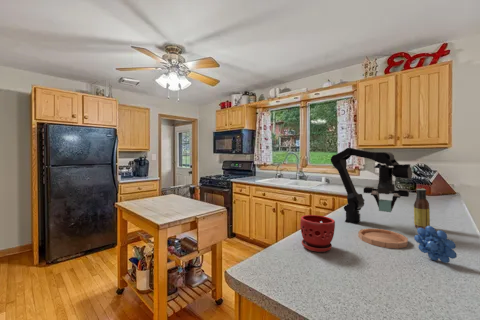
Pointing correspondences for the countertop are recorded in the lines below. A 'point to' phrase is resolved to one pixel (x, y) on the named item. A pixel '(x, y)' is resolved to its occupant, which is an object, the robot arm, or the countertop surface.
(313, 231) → the plant pot
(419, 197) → the sauce bottle
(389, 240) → the dish
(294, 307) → the countertop surface
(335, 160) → the robot arm
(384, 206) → the block
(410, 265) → the countertop surface
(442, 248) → the grapes
